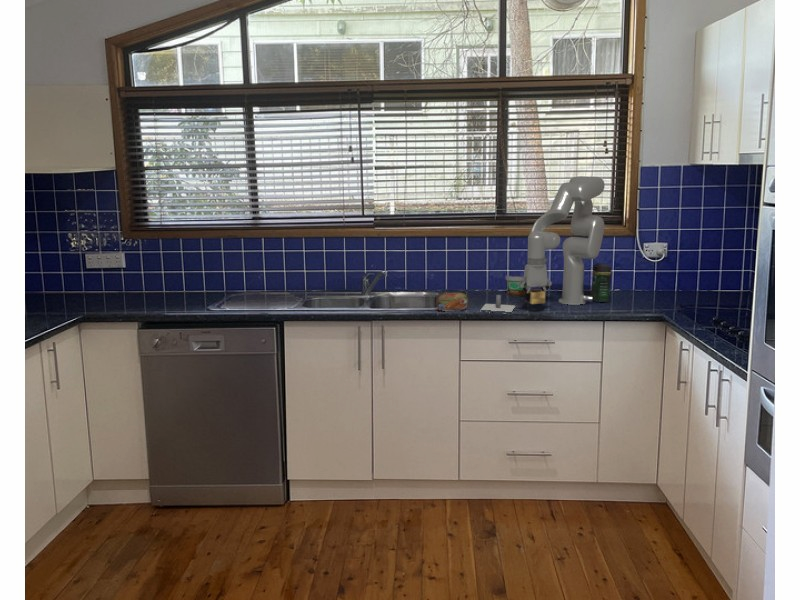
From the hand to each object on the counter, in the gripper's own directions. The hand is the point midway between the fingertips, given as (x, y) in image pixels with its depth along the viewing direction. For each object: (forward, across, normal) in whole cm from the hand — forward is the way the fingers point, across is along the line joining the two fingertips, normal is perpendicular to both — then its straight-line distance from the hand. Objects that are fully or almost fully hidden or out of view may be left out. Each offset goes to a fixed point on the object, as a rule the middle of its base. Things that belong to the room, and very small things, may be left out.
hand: (535, 300), depth 312 cm
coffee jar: (+7, -41, -14) cm, 44 cm away
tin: (+4, +36, -10) cm, 38 cm away
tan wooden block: (+1, 0, 0) cm, 1 cm away
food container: (+6, -7, -38) cm, 39 cm away
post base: (+5, +15, -8) cm, 17 cm away
